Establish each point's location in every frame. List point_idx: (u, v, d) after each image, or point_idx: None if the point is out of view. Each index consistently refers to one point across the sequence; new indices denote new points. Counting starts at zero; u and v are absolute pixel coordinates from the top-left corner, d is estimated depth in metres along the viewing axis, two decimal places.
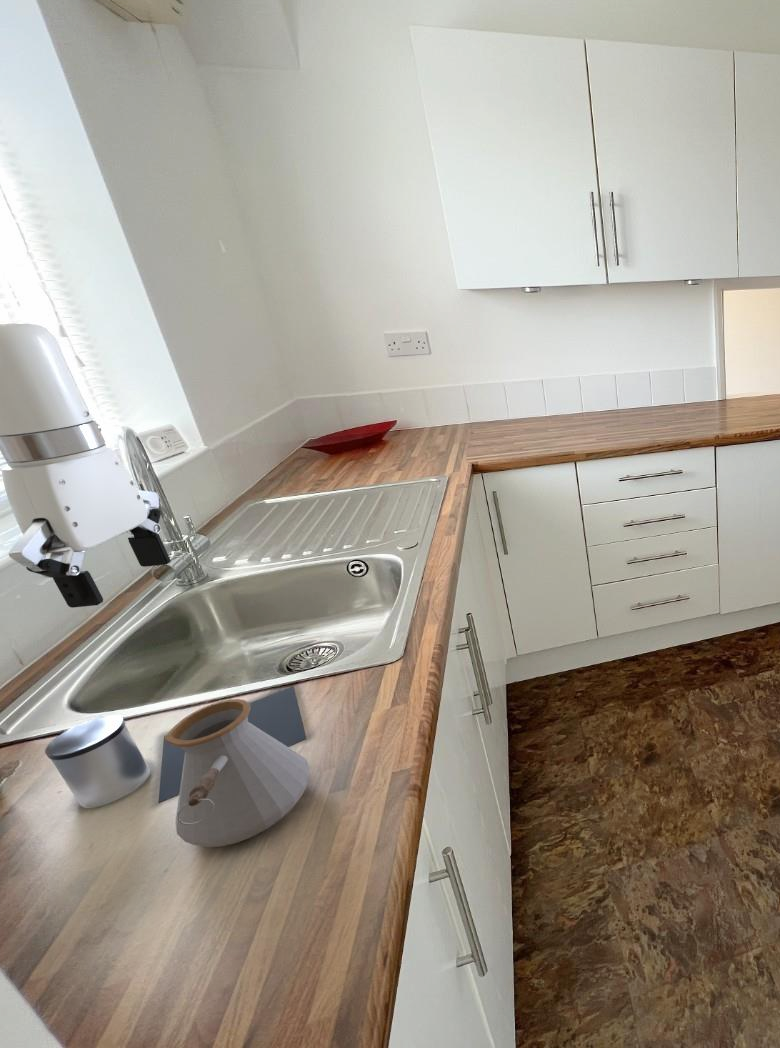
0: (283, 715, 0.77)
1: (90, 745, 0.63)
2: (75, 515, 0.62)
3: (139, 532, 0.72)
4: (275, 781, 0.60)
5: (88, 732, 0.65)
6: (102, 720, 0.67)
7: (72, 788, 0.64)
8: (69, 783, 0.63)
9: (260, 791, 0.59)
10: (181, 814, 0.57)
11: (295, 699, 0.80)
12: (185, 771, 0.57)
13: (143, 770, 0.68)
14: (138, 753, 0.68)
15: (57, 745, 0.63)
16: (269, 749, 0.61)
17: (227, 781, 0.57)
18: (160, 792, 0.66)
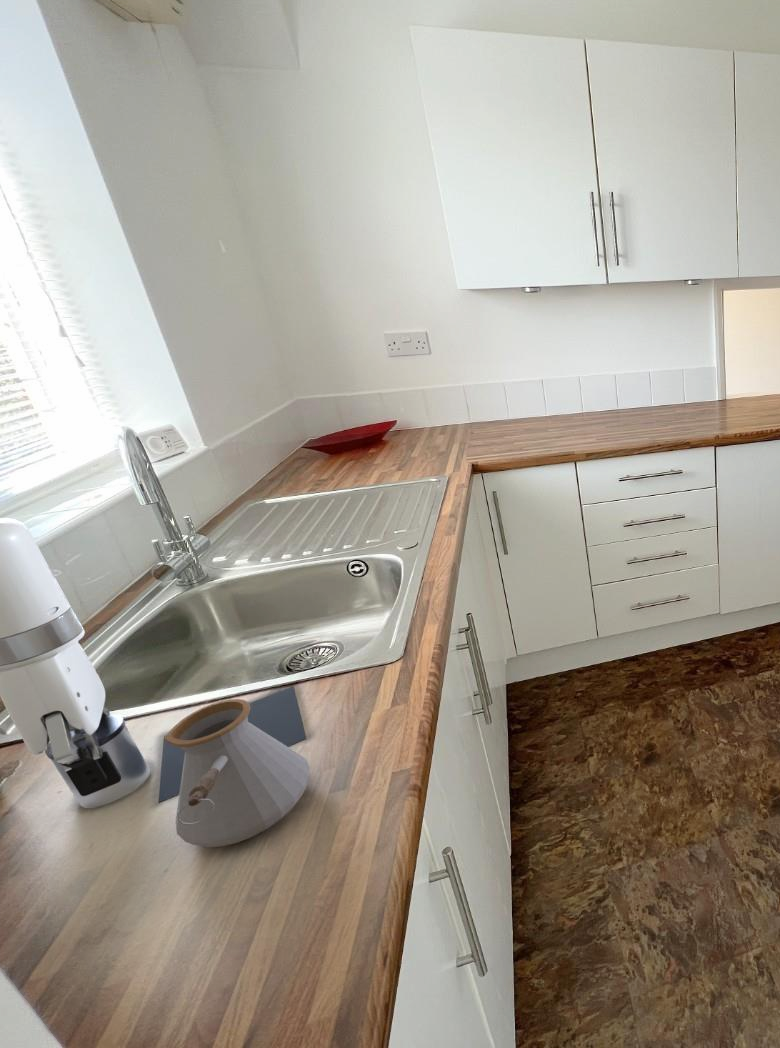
0: (283, 715, 0.77)
1: None
2: (84, 700, 0.61)
3: None
4: (275, 781, 0.60)
5: None
6: (102, 720, 0.67)
7: (72, 788, 0.64)
8: (69, 783, 0.63)
9: (260, 791, 0.59)
10: (181, 814, 0.57)
11: (295, 699, 0.80)
12: (185, 771, 0.57)
13: (143, 770, 0.68)
14: (138, 753, 0.68)
15: None
16: (269, 749, 0.61)
17: (227, 781, 0.57)
18: (160, 792, 0.66)
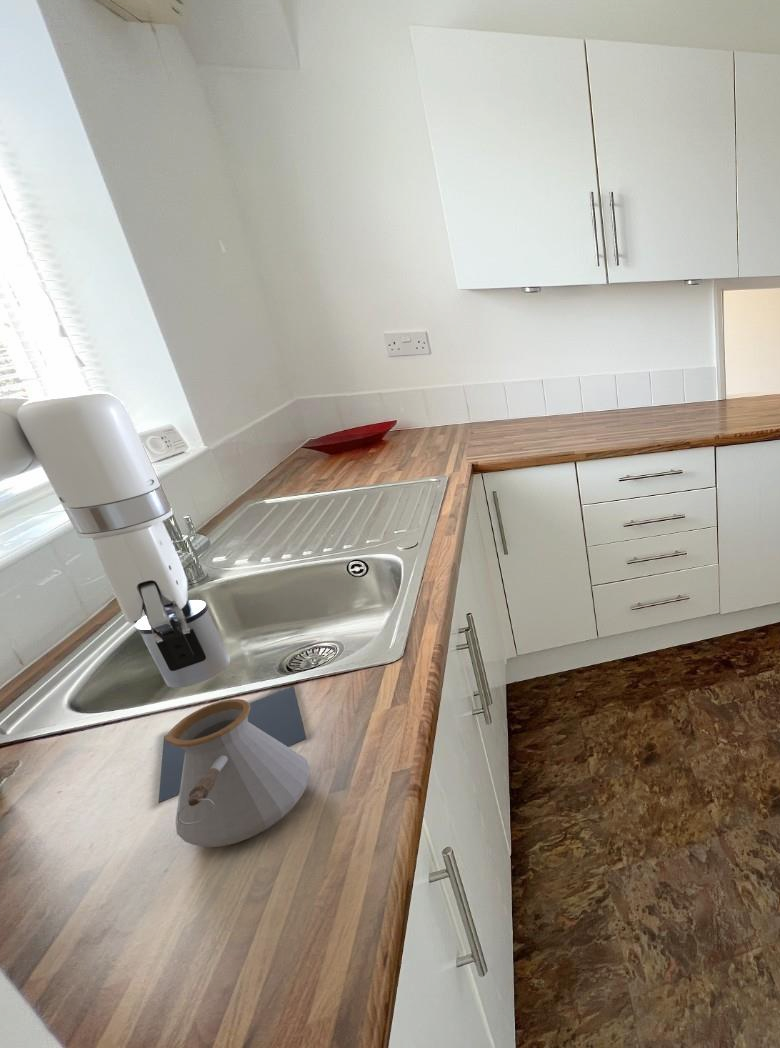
0: (283, 715, 0.77)
1: None
2: (174, 574, 0.63)
3: None
4: (275, 781, 0.60)
5: None
6: None
7: (160, 664, 0.66)
8: (158, 659, 0.66)
9: (260, 791, 0.59)
10: (181, 814, 0.57)
11: (295, 699, 0.80)
12: (185, 771, 0.57)
13: (224, 654, 0.70)
14: (219, 638, 0.70)
15: (146, 622, 0.65)
16: (269, 749, 0.61)
17: (227, 781, 0.57)
18: (160, 792, 0.66)
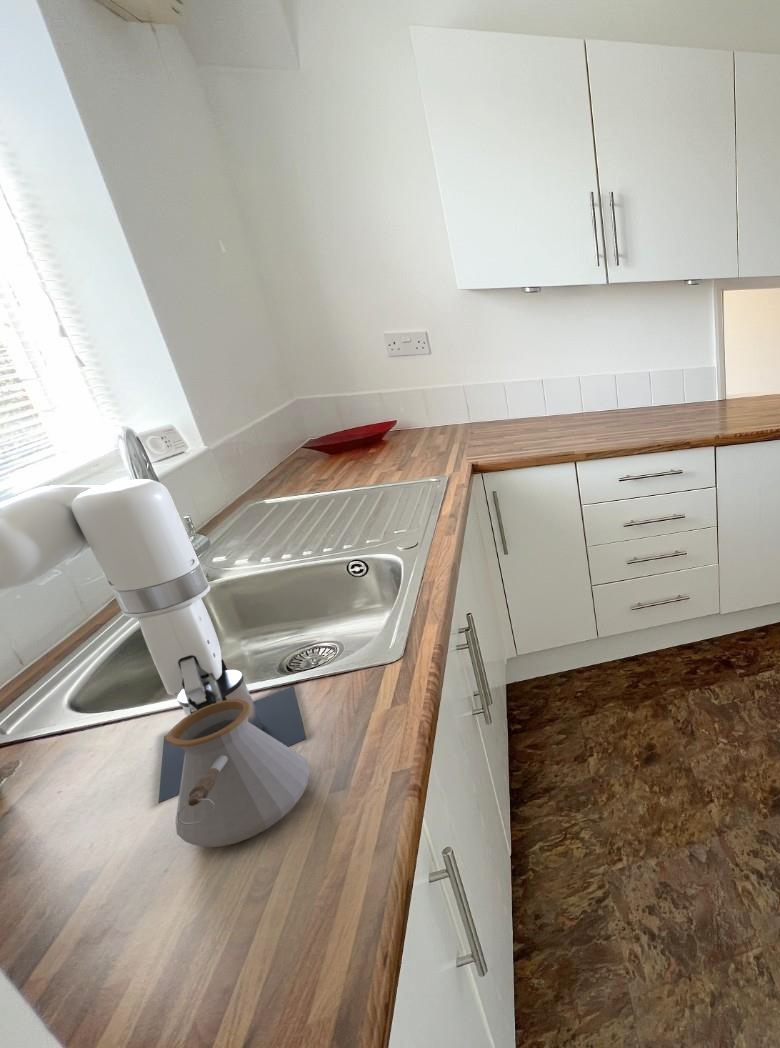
0: (283, 715, 0.77)
1: None
2: (212, 647, 0.67)
3: None
4: (275, 781, 0.60)
5: None
6: (222, 674, 0.73)
7: None
8: None
9: (260, 791, 0.59)
10: (181, 814, 0.57)
11: (295, 699, 0.80)
12: (185, 771, 0.57)
13: (258, 721, 0.74)
14: (253, 705, 0.74)
15: None
16: (269, 749, 0.61)
17: (227, 781, 0.57)
18: (160, 792, 0.66)
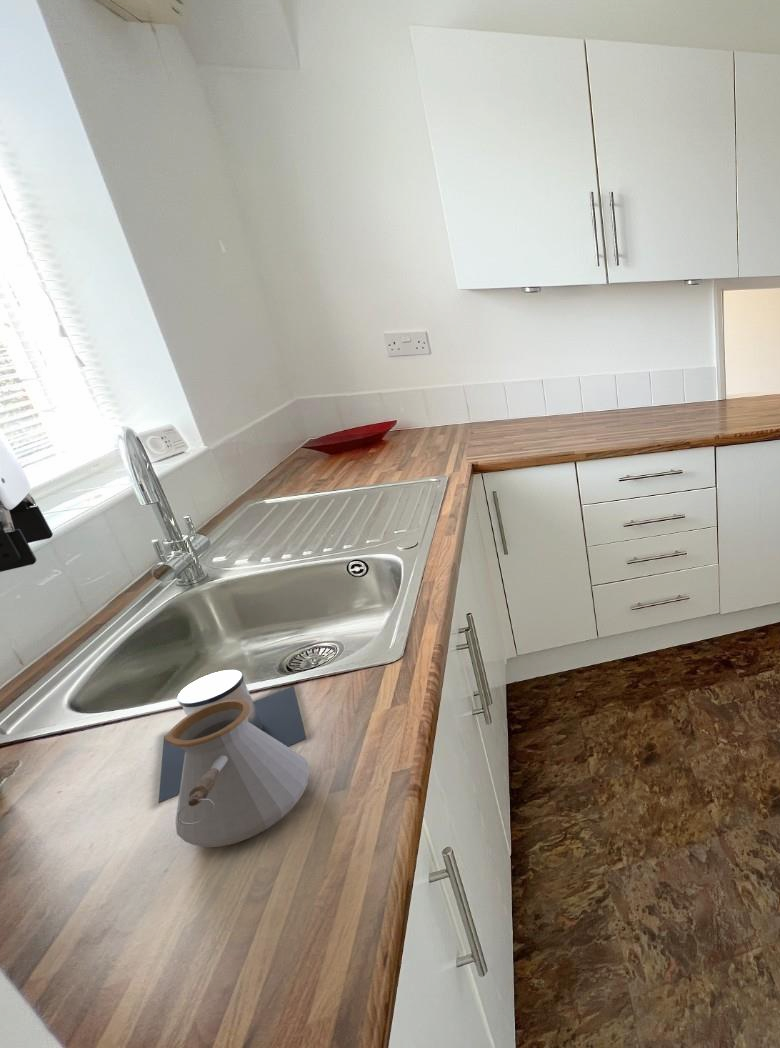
0: (283, 715, 0.77)
1: (218, 694, 0.69)
2: (0, 472, 0.61)
3: None
4: (275, 781, 0.60)
5: (212, 684, 0.71)
6: (222, 674, 0.73)
7: None
8: None
9: (260, 791, 0.59)
10: (181, 814, 0.57)
11: (295, 699, 0.80)
12: (185, 771, 0.57)
13: (258, 721, 0.74)
14: (253, 705, 0.74)
15: (187, 694, 0.69)
16: (269, 749, 0.61)
17: (227, 781, 0.57)
18: (160, 792, 0.66)
